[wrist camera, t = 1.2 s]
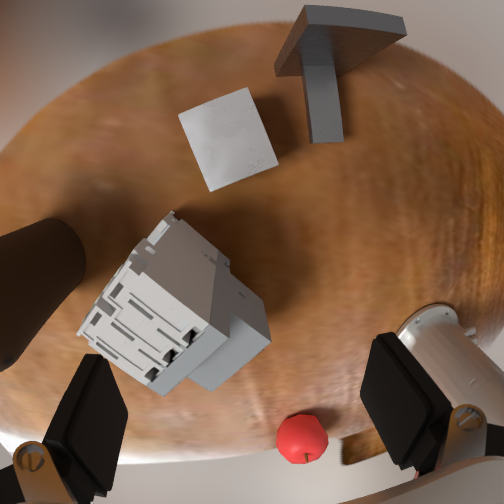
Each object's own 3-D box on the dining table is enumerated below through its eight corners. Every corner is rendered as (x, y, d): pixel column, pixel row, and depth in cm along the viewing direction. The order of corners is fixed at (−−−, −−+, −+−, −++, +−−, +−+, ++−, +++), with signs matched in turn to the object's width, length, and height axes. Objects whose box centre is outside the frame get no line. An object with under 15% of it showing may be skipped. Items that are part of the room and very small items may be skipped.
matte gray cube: (269, 162, 30) (278, 164, 24) (214, 184, 30) (210, 192, 24) (243, 99, 28) (246, 85, 22) (188, 121, 28) (177, 113, 22)
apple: (273, 440, 43) (279, 477, 36) (272, 410, 41) (279, 451, 33) (320, 433, 44) (331, 469, 36) (324, 403, 41) (338, 442, 34)
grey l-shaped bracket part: (338, 63, 27) (402, 17, 14) (348, 142, 30) (423, 139, 16) (274, 63, 27) (304, 4, 13) (284, 145, 30) (325, 139, 16)
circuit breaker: (226, 335, 36) (226, 431, 22) (131, 260, 32) (73, 332, 18) (270, 293, 35) (294, 382, 20) (172, 210, 31) (125, 257, 17)
